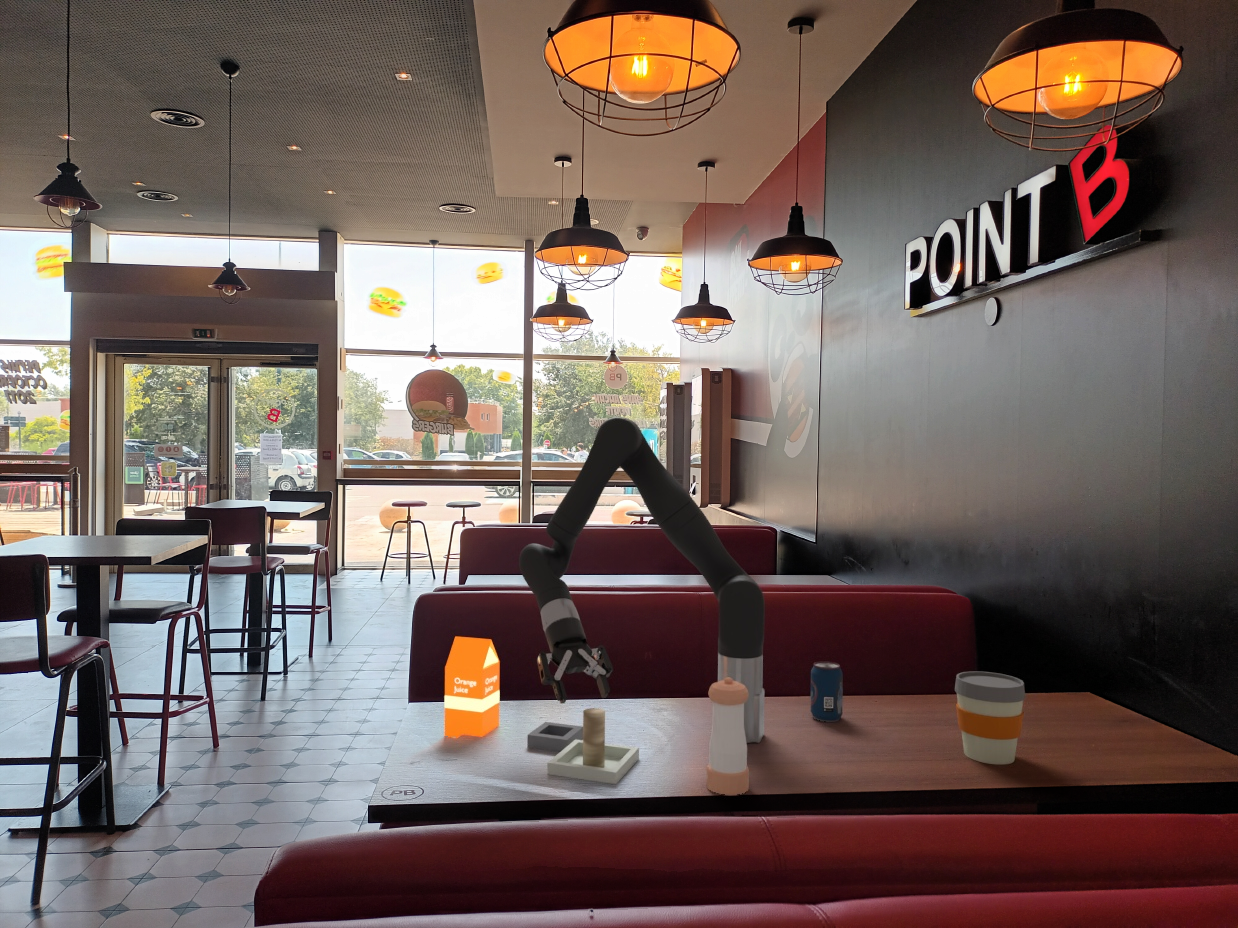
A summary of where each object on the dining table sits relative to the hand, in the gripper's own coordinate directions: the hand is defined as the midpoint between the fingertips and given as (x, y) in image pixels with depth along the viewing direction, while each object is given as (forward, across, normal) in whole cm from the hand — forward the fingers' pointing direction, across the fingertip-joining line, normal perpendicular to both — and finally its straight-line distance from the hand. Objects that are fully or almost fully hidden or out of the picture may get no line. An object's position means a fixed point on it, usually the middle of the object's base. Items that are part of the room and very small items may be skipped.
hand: (585, 698), depth 150 cm
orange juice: (-9, -15, +27) cm, 32 cm away
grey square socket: (+2, -2, +15) cm, 16 cm away
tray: (+12, 0, +5) cm, 13 cm away
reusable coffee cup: (+30, +73, -12) cm, 80 cm away
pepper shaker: (+24, +18, -6) cm, 30 cm away
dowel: (+11, 0, +5) cm, 12 cm away
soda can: (+7, +60, +10) cm, 61 cm away
